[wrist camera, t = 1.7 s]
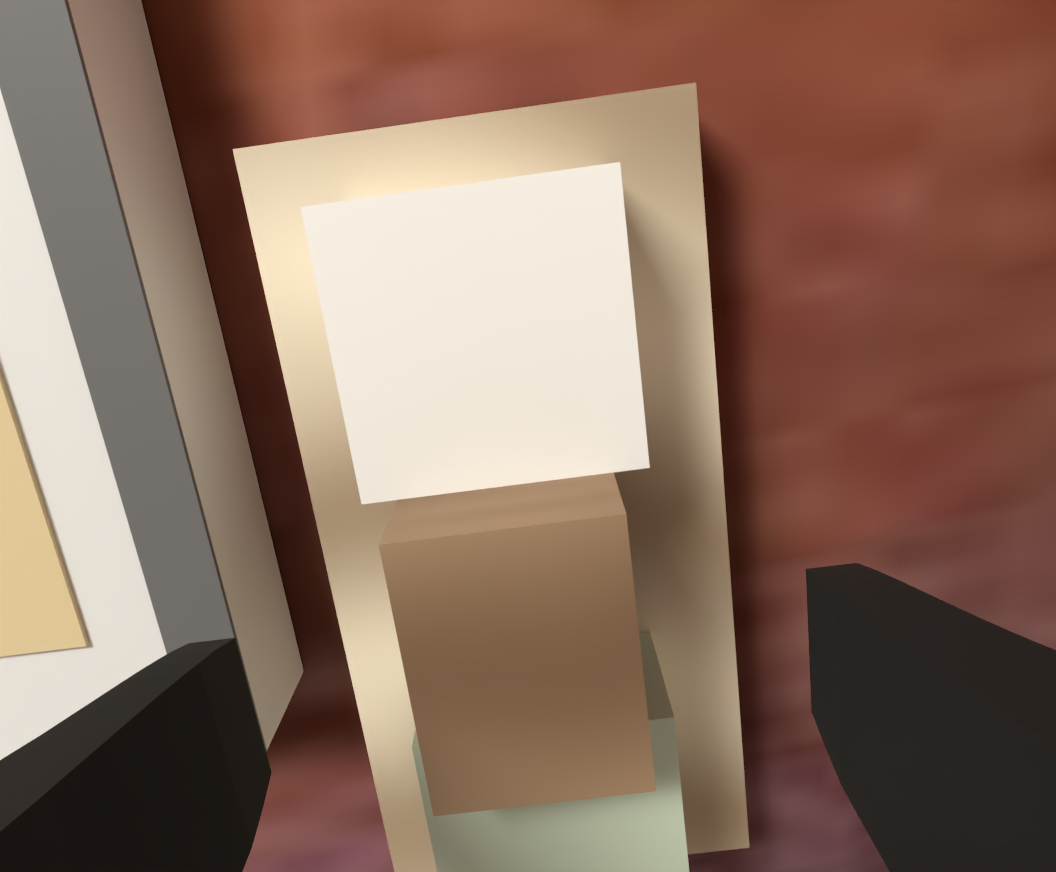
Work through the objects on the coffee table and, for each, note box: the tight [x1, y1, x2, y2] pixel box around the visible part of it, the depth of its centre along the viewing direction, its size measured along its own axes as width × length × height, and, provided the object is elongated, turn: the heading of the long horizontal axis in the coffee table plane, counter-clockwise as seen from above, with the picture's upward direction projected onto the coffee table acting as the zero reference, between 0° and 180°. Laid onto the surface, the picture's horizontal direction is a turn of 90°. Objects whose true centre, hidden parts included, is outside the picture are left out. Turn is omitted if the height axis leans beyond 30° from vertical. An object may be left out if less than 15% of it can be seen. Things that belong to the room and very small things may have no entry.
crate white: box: [300, 162, 650, 504], centre depth 12 cm, size 4×4×2 cm
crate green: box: [412, 632, 689, 872], centre depth 14 cm, size 4×4×2 cm
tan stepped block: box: [233, 83, 749, 872], centre depth 13 cm, size 14×7×6 cm, turn 8°
